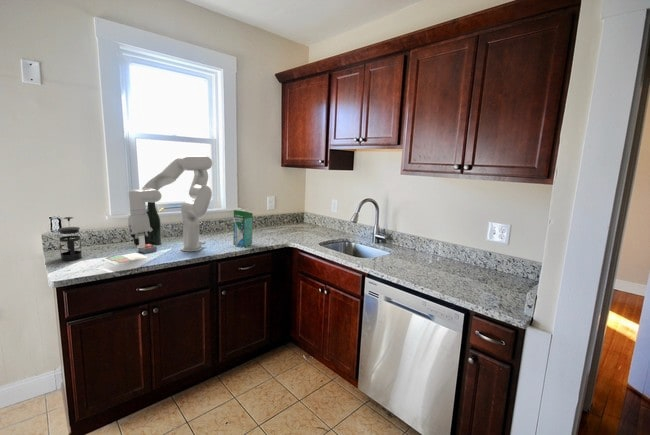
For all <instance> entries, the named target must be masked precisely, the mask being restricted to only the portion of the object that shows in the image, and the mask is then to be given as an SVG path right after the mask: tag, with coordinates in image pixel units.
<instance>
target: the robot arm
mask: <svg viewBox="0 0 650 435" xmlns="http://www.w3.org/2000/svg"><path fill="white" fill-rule="evenodd" d="M212 166H213V160H212V158H210V156H207V155H192V156H191V155H178V156H176V157H175V158H173V159H172V160H171V162H170V163H169V164H168V165H167V166H166V167H165V168H164V169H163V170H162V171H161V172H160V173H158V174H157V175H155V176H154V177H152V178H151V179H150V180H148V181H147V182H146V183H145V184H144V186H143V187H142V188H141V189H131V190H129V191H128V199H129V213H130V214H129V215H128V221H127V229H128V230H127V232H126V236H129V237H131V238H133V244H134V245H135V246H136V247H137V246H138V245H139V239H138V238H137V236H138V233H141V232H144V233H145V235H144V236H145V244H147V241H148V240H147V236H148V235H149V233H150V232H151V231H152V230H153V229H152V228H151V227H150V222H149V218H148V215H147V214H146V212H147V211H148V209H147V208H146V207H147V206H146V204H147V203H148V202H155V203H158V202H159V201H160V200H161V199H162V197H163V196H162V193H161V191H159V190H160V189H161V188H164V187H165V186H168V185H171V184H173V183H174V182H176V181H177V179H179V178H180V176H181V175H182V174H183V173H184V172H185V171H192V172H193V174H194V175H193V179H192V182H191V183H190V184H191V185H190V187H189V189H188V196H189V197H190V198H192V199H187V200H185V201H184V202H182V204H181V206H180V207H181V208H180V211H181V215H182V235H183V236H182V237H183V240H182V242H183V246H181V247H180V251H183V252H198V251H201V250H202V248H203V247H202V245H206V243H207V242H206V241H205V240H204V241H201V240H200V219H199V218H202V217H204V216H205V215H206V213H207V211H208V208H209V205H210V202H211V199H212V196H213V194H212V192H213V191H212V189H211V187H209V186H208V185H207V184H208V182H209V173H208V170H209V169H211V168H212ZM193 199H194V200H193Z"/></svg>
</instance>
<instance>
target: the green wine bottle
mask: <svg viewBox="0 0 650 435" xmlns="http://www.w3.org/2000/svg"><path fill="white" fill-rule="evenodd" d="M146 207H147V208H146V209H148V211H147V212H146V214H147V215H148V218H149V222H150V227H151V228H152V229H153V230H152V231H151V232H150V233H149V235H148V236H147V240H148V241H147V244H151V245H153V246H157V245H160V244H161V243H162V227H161V226H162V224H161V222H162V221H161V217H160V215H159V212H158V210H157V207H156V202H147V206H146Z"/></svg>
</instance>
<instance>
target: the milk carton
mask: <svg viewBox="0 0 650 435" xmlns="http://www.w3.org/2000/svg"><path fill="white" fill-rule="evenodd" d="M253 215H254V214H253V212H249V210H248V209H242V210H236V209H233V245H235V246H234V247H238V246H241V247H240V248H243V247H244V248H246V247H245V246H247V247H249V246H248V245H251V244H252V245H253V218H254V216H253ZM233 245H232V246H233ZM252 245H251V246H252Z"/></svg>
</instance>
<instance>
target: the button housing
mask: <svg viewBox="0 0 650 435" xmlns="http://www.w3.org/2000/svg"><path fill="white" fill-rule="evenodd" d="M157 249H158V248H157V245H151V247H149V248H138V253H143V254H151V253H155V252H157Z"/></svg>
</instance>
